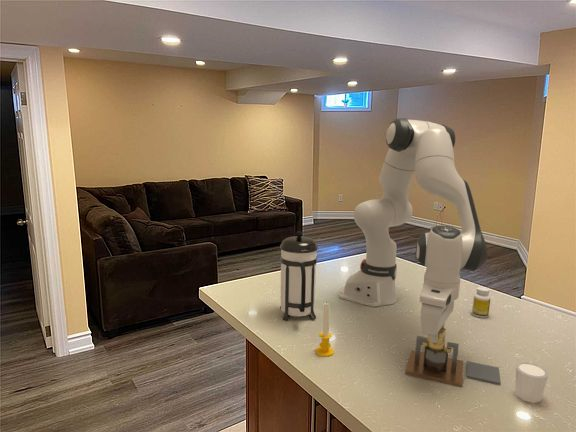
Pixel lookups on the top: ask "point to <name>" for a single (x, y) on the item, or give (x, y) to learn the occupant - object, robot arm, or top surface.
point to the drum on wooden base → (435, 364)
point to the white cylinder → (530, 382)
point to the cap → (439, 345)
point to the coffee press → (298, 276)
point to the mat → (483, 373)
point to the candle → (325, 335)
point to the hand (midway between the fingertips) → (436, 337)
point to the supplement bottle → (481, 303)
